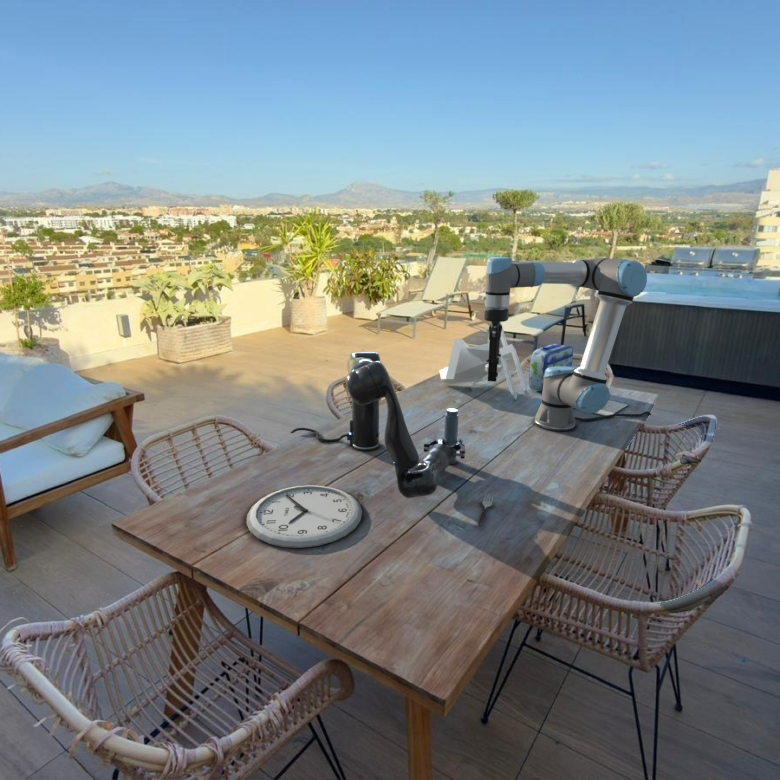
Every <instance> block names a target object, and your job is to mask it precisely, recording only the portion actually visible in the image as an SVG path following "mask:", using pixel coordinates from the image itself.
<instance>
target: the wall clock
mask: <svg viewBox="0 0 780 780" xmlns="http://www.w3.org/2000/svg"><path fill="white" fill-rule="evenodd" d="M362 516H363V509H362V507H361V504H360V503H359V501H358V500H357V499H356V498H355V497H354V496H352V495H350V494H349V493H348V492H346V491H344V490H341V489H338V488H335V487H330V486H325V485H311V484H310V485H309V484H307V485H296V486H290V487H287V488H286V487H285V488H282V489H280V490H276V491H274V492H271V493H268V494H267V495H266V496H264V497H262V498H260V499H259V500H257V502H255V504H253V505H252V506H251V507H250V509H249V511H248V513H247V514H246V526H247V528H248V531H249V532H250V534H252V535H253V536H254V537H255V538H256V539H258V540H260V541H262V542H265V543H267V544H269V545H272V546H277V547H282V548H294V549H295V548H297V549H301V548H302V549H304V548H312V547H318V546H322V545H327V544H330V543H333V542H336V541H338V540H340V539H343V538H344V537H346V536H348V535H349V534H351V533H352V532H353V531H354V530H355V529H357V527H358V525H360V522H361V521H362Z"/></svg>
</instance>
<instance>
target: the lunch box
mask: <svg viewBox="0 0 780 780" xmlns="http://www.w3.org/2000/svg"><path fill="white" fill-rule="evenodd" d="M573 358H574V349H573V346H571V345H565V344H558V343H553V344H548V345H546V346H542V347H540V348H537V349H535V350H534V351H533V352H532V354H531V357H530V362H529V374H528V375H529V376H528V387H529V388H528V389H530V390H534V391H539V392H542V391H543V380H544V374H545V370H546V369H547V368H549V367H556V366H566V367H573Z"/></svg>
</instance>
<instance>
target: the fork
mask: <svg viewBox="0 0 780 780" xmlns="http://www.w3.org/2000/svg"><path fill="white" fill-rule="evenodd" d="M487 492H488V491H487ZM487 492H485V494H484V497H483V500H482V506H483V507H484V508H483V509H482V511H481V512H480V515H479V520H478V525H477V526H478V527H480V525H481V523H482V522H483V520H484V519H485V516H486V511H487V508H489V507H492V505H493V500H494V493H490V494H489V492H488V493H487ZM486 494H487V495H486Z"/></svg>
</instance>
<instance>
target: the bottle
mask: <svg viewBox="0 0 780 780" xmlns="http://www.w3.org/2000/svg"><path fill="white" fill-rule="evenodd" d="M459 418H460V417H459V410H458V409H457V408H453V407H451V408H446V413H445V414H444V431H443V432H444V435H443V437H444V445H450V444H452V443H456V442H457V440H458V432H459ZM456 462H457V456H456V457H455V458H453V459H452V461H451V463H450V464H449V465H453V464H456Z"/></svg>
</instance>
